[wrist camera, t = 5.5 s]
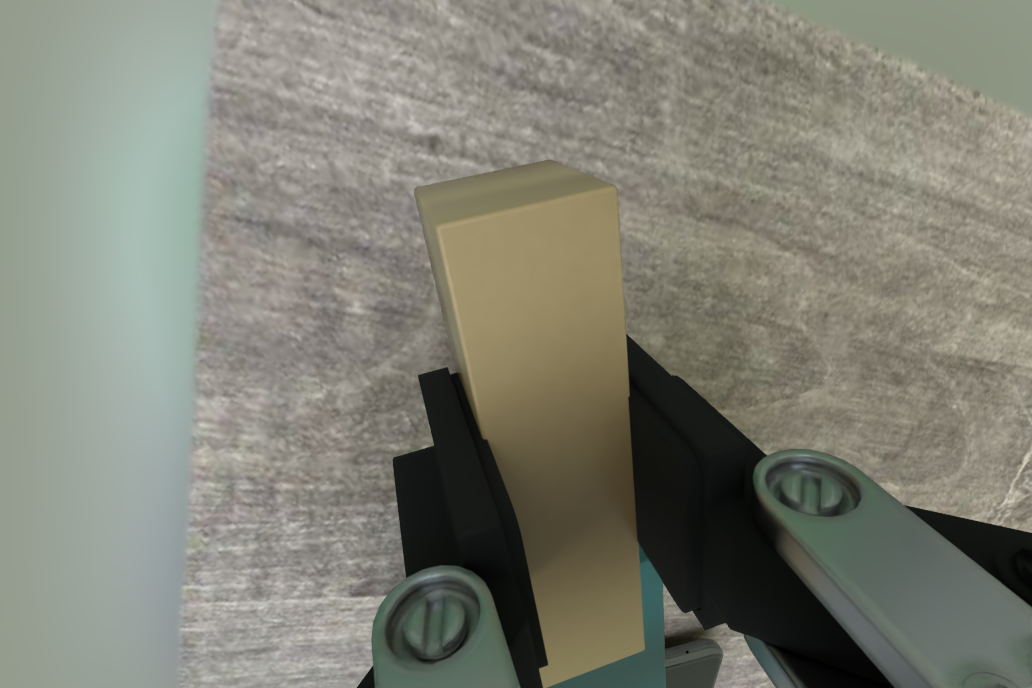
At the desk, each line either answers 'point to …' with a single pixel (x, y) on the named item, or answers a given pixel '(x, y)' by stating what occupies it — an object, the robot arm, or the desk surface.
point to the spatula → (554, 402)
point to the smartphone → (693, 664)
